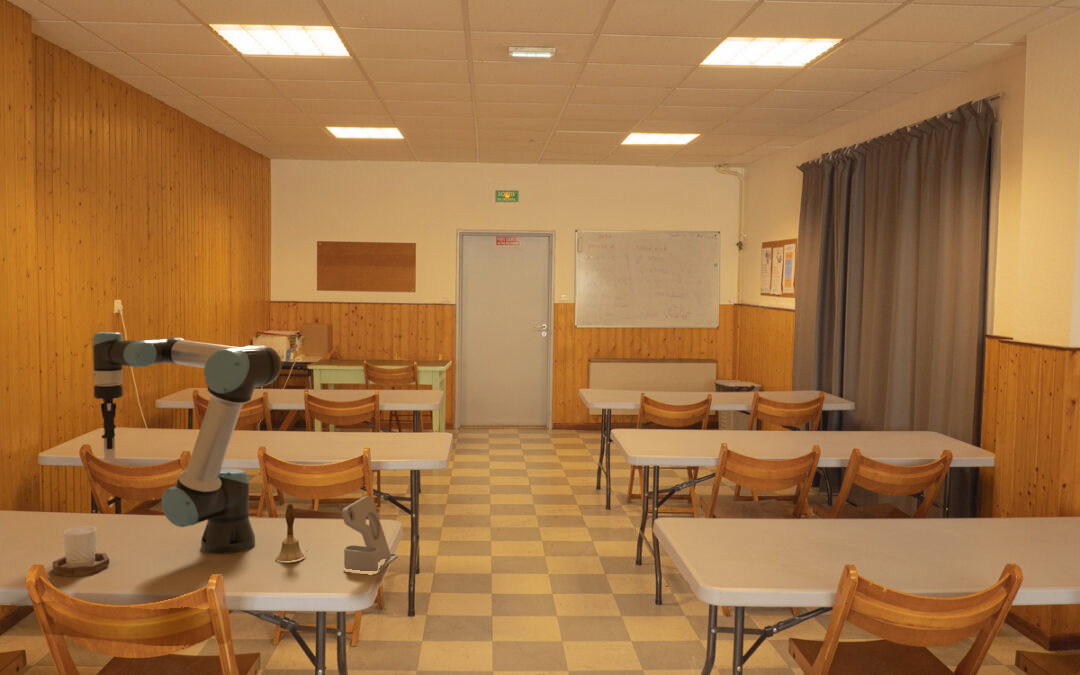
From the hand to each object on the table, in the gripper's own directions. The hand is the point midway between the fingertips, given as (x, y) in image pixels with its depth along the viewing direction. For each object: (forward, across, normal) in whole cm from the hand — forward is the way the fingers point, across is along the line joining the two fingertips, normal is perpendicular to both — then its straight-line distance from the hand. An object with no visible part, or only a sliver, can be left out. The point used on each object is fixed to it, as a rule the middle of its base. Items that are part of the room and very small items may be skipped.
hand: (109, 455), depth 243 cm
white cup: (+26, +20, -8) cm, 34 cm away
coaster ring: (+27, +20, -8) cm, 34 cm away
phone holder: (+27, +50, +64) cm, 86 cm away
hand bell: (+27, +36, +45) cm, 64 cm away
